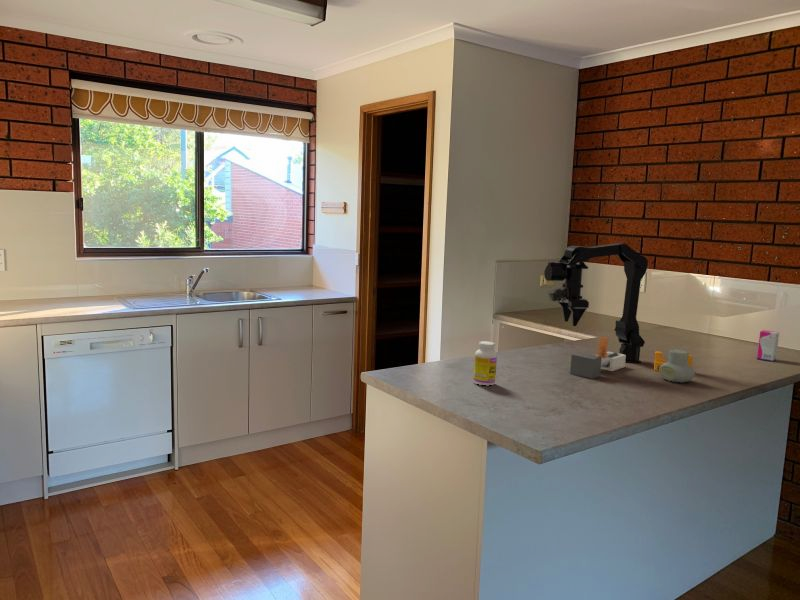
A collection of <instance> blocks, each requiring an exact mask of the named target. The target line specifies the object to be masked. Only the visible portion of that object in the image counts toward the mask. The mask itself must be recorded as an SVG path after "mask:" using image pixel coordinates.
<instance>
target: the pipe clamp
mask: <svg viewBox="0 0 800 600" xmlns="http://www.w3.org/2000/svg"><path fill="white" fill-rule="evenodd" d="M693 357H694V356H693V354H689V355H688V365H689V366H691V367H692V365H693V359H694V358H693ZM653 362H654V363H653V370H656V371H655V372H659V368H660V366H661V365H662V364H664V363H666V362H667V361H666V360H665V359H664V358H663V353H662V351H658V350H656V351H655V352H654V361H653ZM692 368H693V367H692Z"/></svg>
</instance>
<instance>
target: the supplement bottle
mask: <svg viewBox="0 0 800 600" xmlns="http://www.w3.org/2000/svg"><path fill="white" fill-rule="evenodd" d="M495 346H496V344H495V342H493V341H487V340H486V341H482V340H481V341H479V343H478V347H479V348H478V350H476V351H475V354H474V366H473V367H474V368H473V384H475V385H477V384H479V385H478V386H481V385H486V386H485V387H490V386H489V385H492V386H494V385H495V383H496V377H497V375H496V373H497V363H498V362H497V360H498V359H497V358H498V354H497V352H496V351H494V348H495Z"/></svg>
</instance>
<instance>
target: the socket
mask: <svg viewBox="0 0 800 600" xmlns="http://www.w3.org/2000/svg"><path fill="white" fill-rule="evenodd" d="M595 355H596V354H594V355H593V354H589V353H584V352H577V353H573V354H571V358H570V368H569V369H570V370H569V374H570V375H573V376H579V377H583V378H587V379H591V380H593V379H596V378H598V377H599V378H600V377H601V371H602V369H601V360H602V357H600V356H595Z"/></svg>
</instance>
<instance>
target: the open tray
mask: <svg viewBox="0 0 800 600" xmlns="http://www.w3.org/2000/svg"><path fill="white" fill-rule="evenodd" d="M611 353H614V352H612V351H607V354H611ZM616 353H617V352H616ZM617 354H618V355H619V356H616V357H613V358H610V365H606V366H603V367H601V370H605V371H610V372H613V371H617V370H619V369H622V368H625V366H626V362H625V359H626V355H624V354H619V352H618V353H617ZM594 355H595V356H598V354H594Z"/></svg>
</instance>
